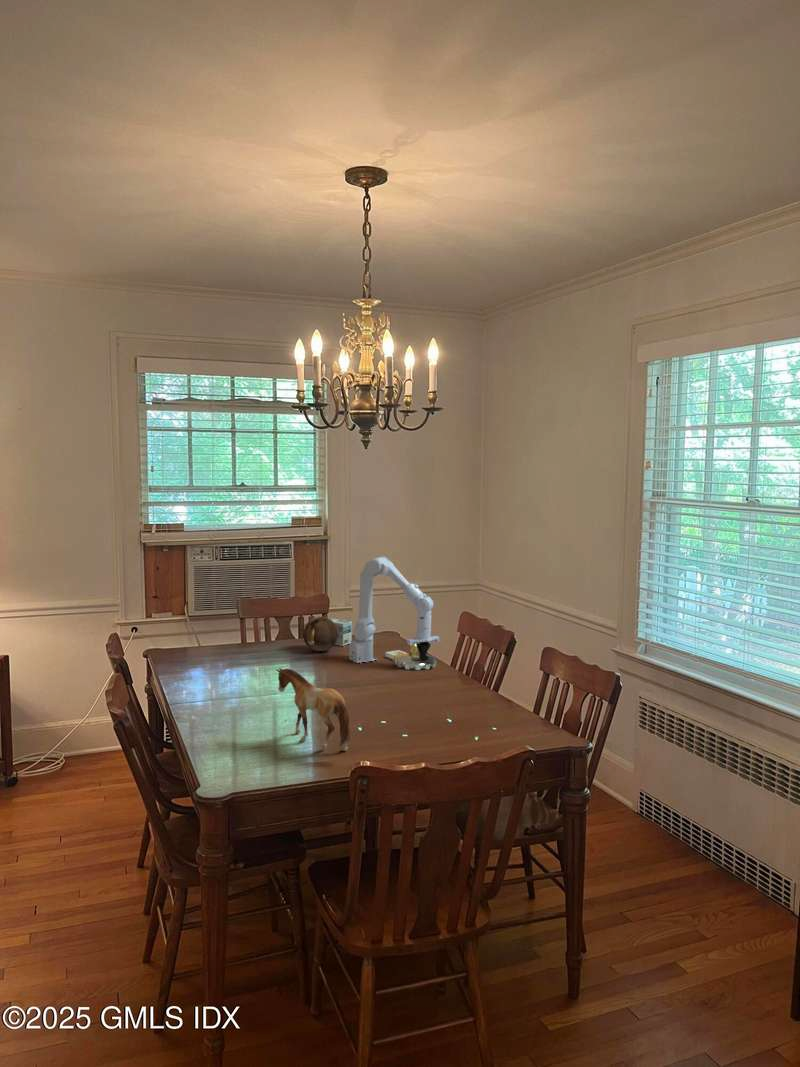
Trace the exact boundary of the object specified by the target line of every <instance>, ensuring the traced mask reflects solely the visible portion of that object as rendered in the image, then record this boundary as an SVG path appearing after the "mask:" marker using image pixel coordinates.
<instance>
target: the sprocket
mask: <svg viewBox="0 0 800 1067" xmlns="http://www.w3.org/2000/svg"><path fill="white" fill-rule="evenodd" d="M418 654H419V655H418V656H416V655H411V656H410V655H409V656H406V655H405V656H402V657H397V658H396V660H395V661H394V665H395V666H397V668H400V669H401V668H402V669H403V668H404V669H405V670H415V671H421V670H430V668H435V667H436V666H437V660H436V656H433V655H430V654H426V660H425V661H421V660H420V653H418Z"/></svg>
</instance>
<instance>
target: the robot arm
mask: <svg viewBox="0 0 800 1067" xmlns="http://www.w3.org/2000/svg"><path fill="white" fill-rule="evenodd" d="M379 574H380V575H381V576H387V577H390V578H391V579H392V580H393V582H395V583H396V584H397V585H398V586H399V587H400V588H402V589H403V591H402V592H403V594H404V596H405V597H406V598H408V599H409V601H410V602H411V603H412V604H413V605H414V608H415V610H416V612H417V615H416V617H417V619H416V637H413V638H408V639H407V645H409V646H410V645H412V644H416V646H417V648H418V654H420V660H421V661H425V660H426V655H427V654H428V651H429V649H430V648H431V643H434V642H438V643H439V642H440V636H438V635H433V636H432V609H433V608H434V606H435V605H434V604H435V603H434V602H435V601H434V600H433V599H432V597H431V596H428V595H427V594H426V593H424V592H423V591H422V590H421V589H419V585H418V584H415V583H410V582H409V581H408V580H407V579H406V578H405V577H404V575H402V573H401V572H400V570H398V569H397V568H396V566H395V564H393V562H392V561H391V560H390V559H389V558H388V557H386V556H385V555H384V556H379V557H375V558H371V559H369V560H368V561H367V562H365V566H364V567H363V569H362V570H361V572H360V574H359V576H360V577H359V604H358V606H359V607H358V608H359V609H358V618H357V620H356V621H355V626H354V629H353V633H352V634H353V637H355V639H354V640H352V642H351V643H350V645H349V653H348V655H349V657H348V659H350V660H353V661H355V662H357V663H359V662H360V664H362V663H361V662H366V663H368V662H367V661H373V662H375V661H374V660H377V661H378V659H377V658H374V635H375V634H376V631H377V628H376V625H375V618H374V616H373V597H374V594H373V593H374V579H375V578H376V577H377V576H378V575H379ZM350 660H349V661H350ZM353 661H352V662H353ZM355 662H354V663H355ZM357 663H356V664H357Z"/></svg>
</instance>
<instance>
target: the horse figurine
mask: <svg viewBox="0 0 800 1067" xmlns="http://www.w3.org/2000/svg"><path fill="white" fill-rule="evenodd" d="M275 670H276V671H277V672H278V687H277V688H278V691H279V692H280V693H283V692H284V691H285V689H286V687H287V686H288V685H289V684H291V686H292V688H293V690H294V692H295V694H294V698H293V700H294V704H295V705H296V707H297V709H298V712H299V713H298V714H297V719H296V723H295V735H296V734H299V733H300V732H301V728H300V722H301V719H302V725H303V729H304V732H303V736H301V738H300V739H299V742H300V743H305V742H306V741H307V737H308V736H309V734H308V733H309V732H308V717H307V715H308V714H307V711H308V710H310V711H313V712H317V713H318V714H319V716H320V717H321V719H322V721H323V723H324V724H325V725H326V726H327V727H328V728H327V732H326V735H325V736H324V737H323V739H322V744H321V750H323V751H324V750H325V749H326V748H327V747H328V746H327V742H328V741H329V738H330V736H331V734H332V733H333V732H334V730H335V728H336V727H335V725H334V723H332V720H331V719H330V718H331V716H333V715H336V716H337V718H338V722H339V734H340V742H339V743H340V744H339V747H341V748H340V751H341V752H342V751H343V752H344V751H345V752H346V751H347V750H348V745H349V741H350V737H351V730H350V728H351V726H350V716H349V714H350V713H349V711H348V709H347V707H346V700H345V699H344V696H343V695H342V694H341V693H340V692H338V691H337V690H336V689H334V688H330V687H329V688H326V687H325V688H319V687H316V686H314V685H313V684H311V683H310V682H309V681H308V680H307V679H306V678H305V677H303V675H302V674H300V673H299V672H297V671H295V670H293V669H290V668H285V669H284V668H281V667H280V668H278V669H277V668H276V669H275Z"/></svg>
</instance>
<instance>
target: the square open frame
mask: <svg viewBox="0 0 800 1067" xmlns="http://www.w3.org/2000/svg"><path fill="white" fill-rule="evenodd" d="M405 655H406V656H410V653H408V652H405V651H402V650H400V649H398V650H392V651H391V650H390V651H386V652H385V658H386V657H388V658H387V659H389V658H391V659H393V660H392V661H394V660H396V658H397V657H402V656H405ZM391 659H390V660H391Z"/></svg>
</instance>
